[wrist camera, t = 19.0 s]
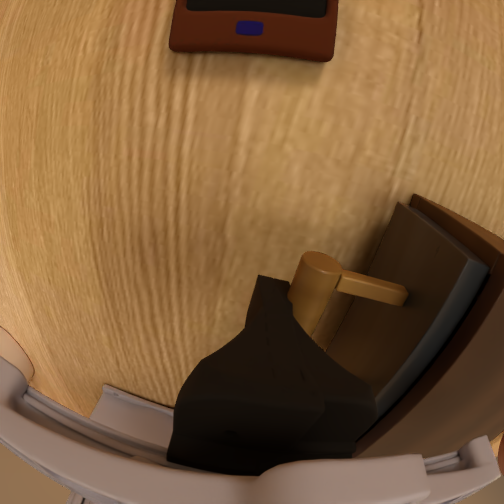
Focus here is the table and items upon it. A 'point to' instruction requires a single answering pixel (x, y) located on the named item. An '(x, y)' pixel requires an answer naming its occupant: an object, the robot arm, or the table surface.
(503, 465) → the eyeball
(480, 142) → the table surface
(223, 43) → the smartphone
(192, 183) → the table surface
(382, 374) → the drawer
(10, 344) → the candle holder
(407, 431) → the cabinet
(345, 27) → the table surface
